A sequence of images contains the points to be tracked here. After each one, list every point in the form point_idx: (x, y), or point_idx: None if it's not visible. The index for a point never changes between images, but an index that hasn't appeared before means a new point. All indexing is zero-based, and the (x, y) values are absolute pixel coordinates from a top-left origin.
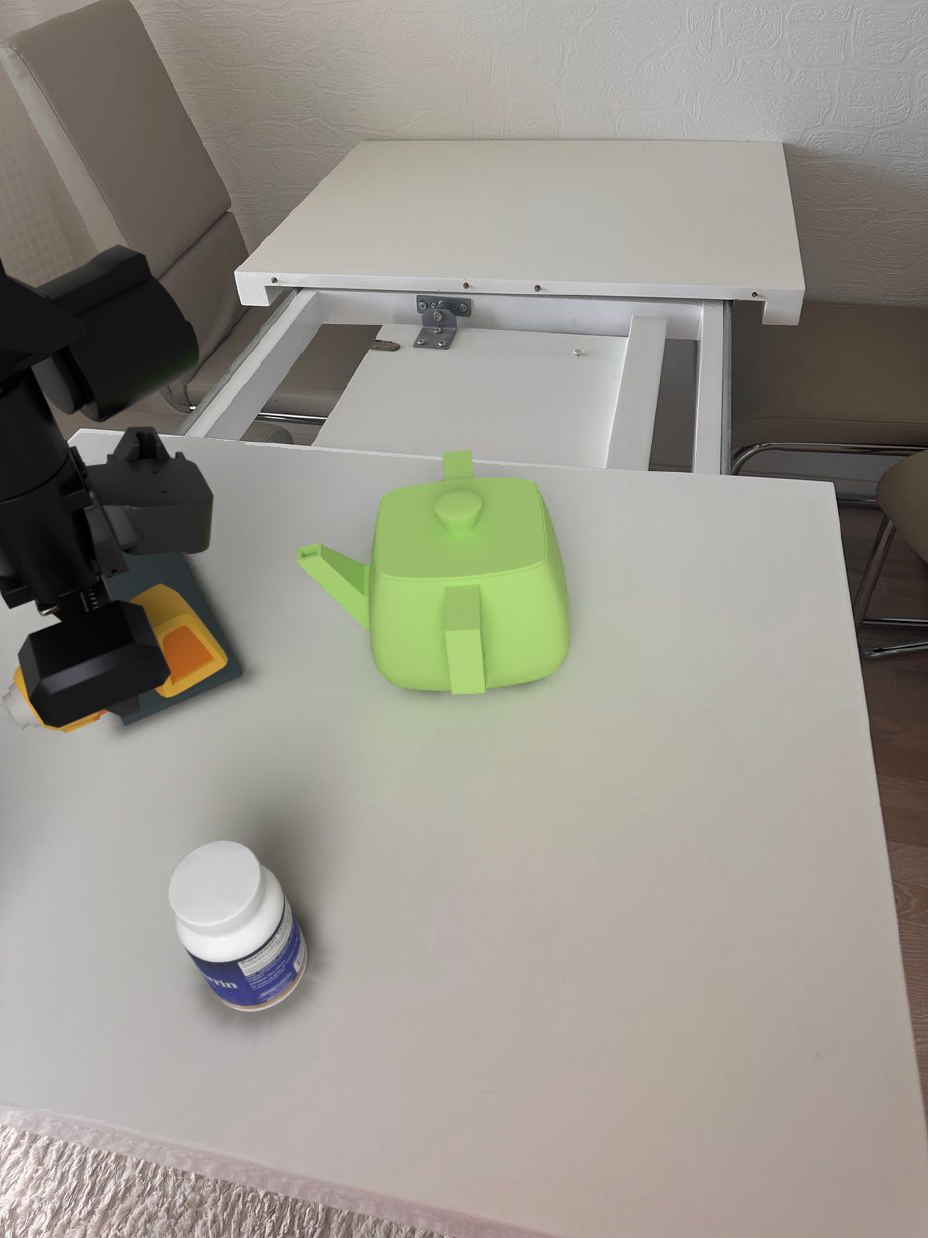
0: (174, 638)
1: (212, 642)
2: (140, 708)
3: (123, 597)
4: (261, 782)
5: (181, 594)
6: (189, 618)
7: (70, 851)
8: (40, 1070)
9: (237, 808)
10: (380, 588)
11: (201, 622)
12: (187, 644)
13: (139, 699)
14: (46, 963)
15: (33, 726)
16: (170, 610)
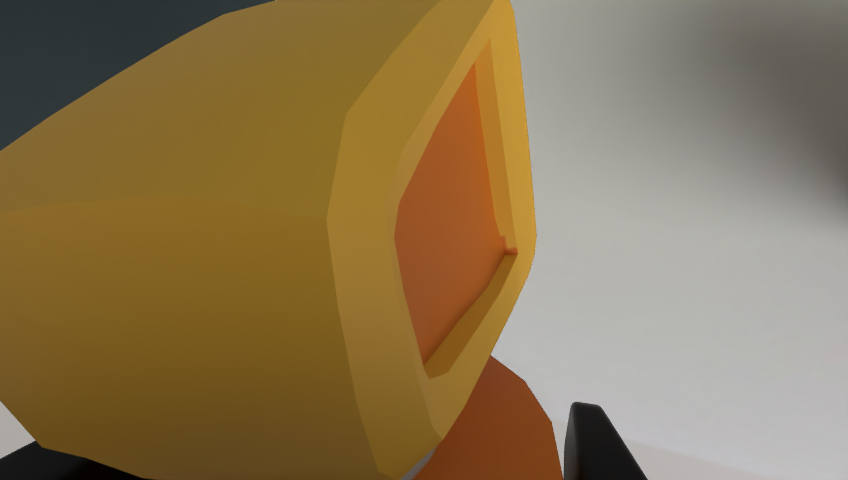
0: (416, 277)
1: (451, 23)
2: (602, 410)
3: (3, 116)
4: (581, 8)
5: (5, 3)
6: (362, 185)
7: (509, 339)
8: (828, 463)
9: (610, 81)
10: None
11: (331, 55)
12: (438, 185)
13: (633, 460)
14: (673, 414)
15: None
16: (235, 328)
